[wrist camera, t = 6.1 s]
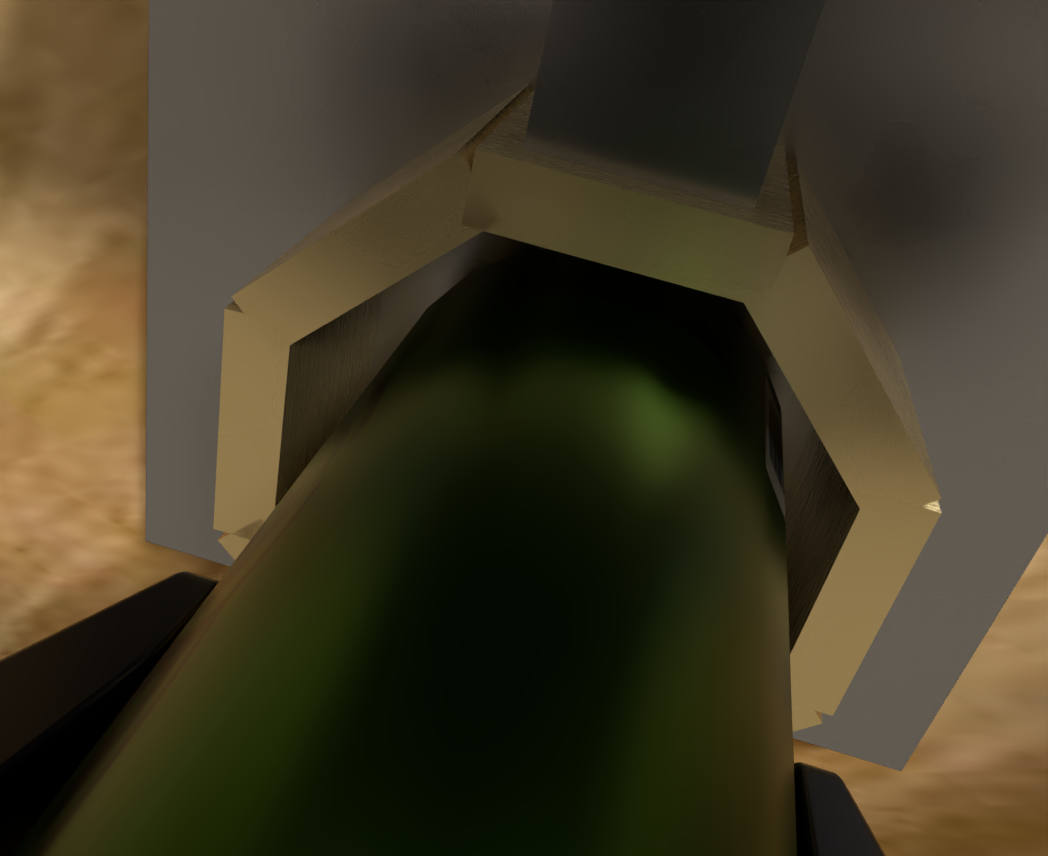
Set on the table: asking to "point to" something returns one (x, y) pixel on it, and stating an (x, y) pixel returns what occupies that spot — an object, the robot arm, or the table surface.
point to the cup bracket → (636, 266)
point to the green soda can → (491, 607)
